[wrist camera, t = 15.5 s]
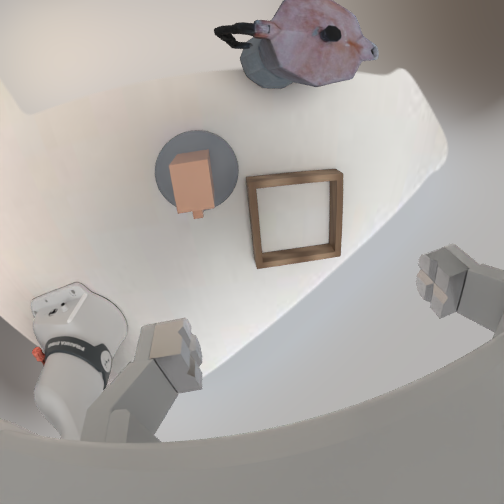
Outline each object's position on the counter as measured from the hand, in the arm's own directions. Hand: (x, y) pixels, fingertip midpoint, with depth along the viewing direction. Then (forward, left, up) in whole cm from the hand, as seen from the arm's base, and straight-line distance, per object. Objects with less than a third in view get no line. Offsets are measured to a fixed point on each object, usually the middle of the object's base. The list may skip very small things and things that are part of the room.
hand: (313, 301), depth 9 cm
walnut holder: (+8, -12, -35) cm, 38 cm away
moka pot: (+6, +12, -35) cm, 38 cm away
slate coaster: (-6, -3, -35) cm, 36 cm away
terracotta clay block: (-6, -3, -34) cm, 35 cm away
